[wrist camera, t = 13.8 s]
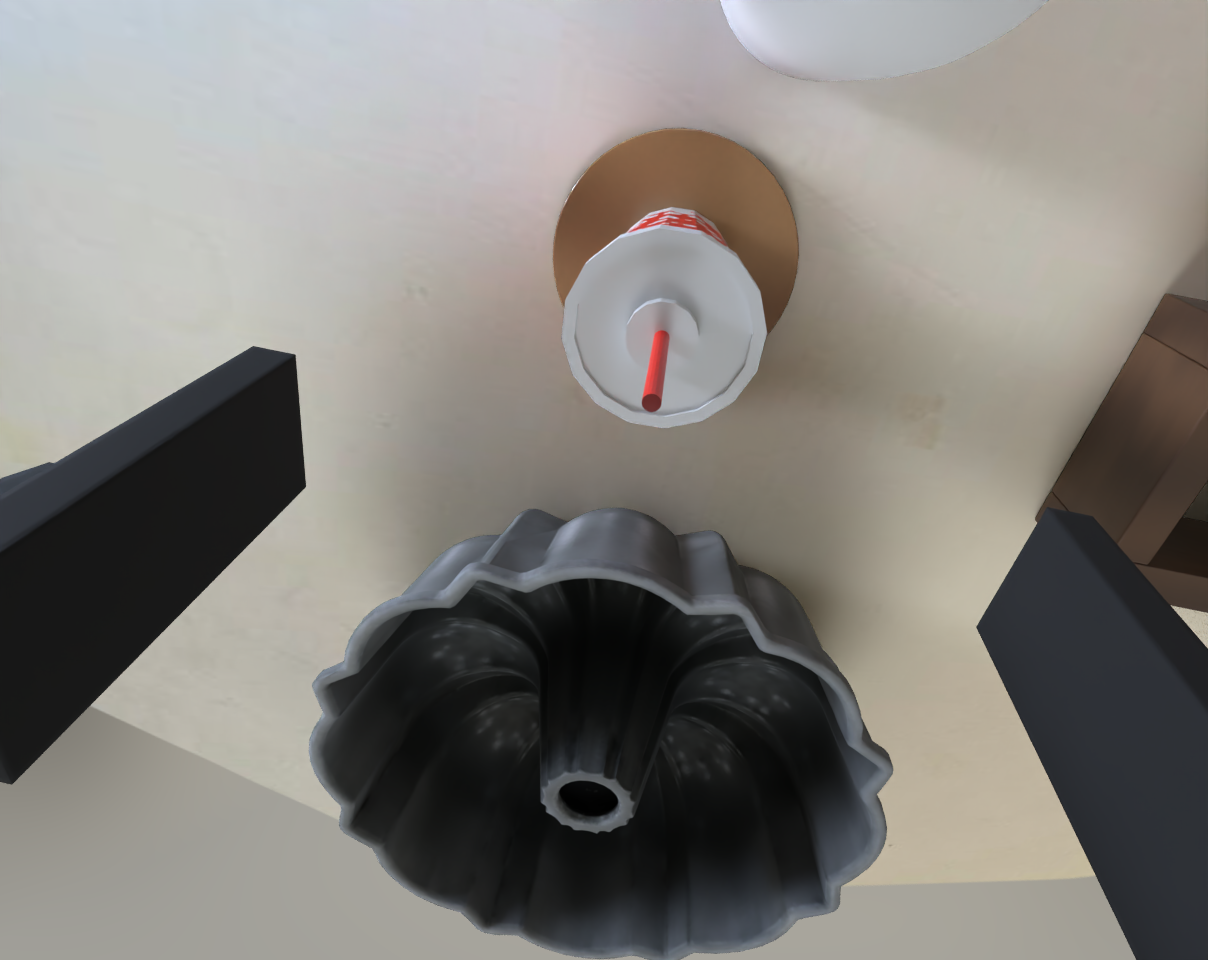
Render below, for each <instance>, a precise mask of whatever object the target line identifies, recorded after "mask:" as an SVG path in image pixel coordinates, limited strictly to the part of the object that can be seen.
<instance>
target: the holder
mask: <svg viewBox="0 0 1208 960" xmlns="http://www.w3.org/2000/svg"><path fill="white" fill-rule="evenodd" d="M1144 332H1145V333H1144V334H1142V336H1141V337H1140V339H1139V341H1138V343H1137V344H1136V346H1135V348H1134V350H1133V351H1132V353H1131V355H1130V356H1129V358H1128V360H1127V362H1126V363H1125V365H1124V367H1123V369H1122V370H1121V372H1120V374H1119V375H1118V377H1117V379H1116V381H1115V382H1114V384H1113V386H1112V388H1111V389H1110V391H1109V393H1108V394H1107V396H1106V398H1105V400H1104V401H1103V403H1102V405H1101V407H1100V408H1099V410H1098V412H1097V413H1096V415H1095V417H1094V419H1093V420H1092V422H1091V424H1090V426H1089V427H1088V429H1087V431H1086V432H1085V434H1084V436H1083V438H1082V439H1081V441H1080V443H1079V445H1078V446H1077V448H1076V450H1075V451H1074V453H1073V455H1072V457H1071V458H1070V460H1069V462H1068V464H1067V465H1066V467H1065V469H1064V470H1063V472H1062V474H1061V476H1060V477H1059V479H1058V481H1057V483H1056V484H1055V486H1054V488H1053V490H1052V491H1053V492H1050V494H1049V496H1048V497H1047V499H1046V501H1045V503H1044V504H1043V506H1042V508H1041V510H1040V511H1039V513H1038V515H1037V516H1036V518H1035V520H1036V521H1037V523H1038V522H1039V520H1040V518H1041V516H1042V515H1043V513H1044V511H1045V510H1046V508H1047V507H1050V508H1055V509H1060V510H1065V511H1070V512H1075V513H1080V514H1084V515H1089V516H1093V517H1094V518H1095V519H1096V520H1097V522H1098V523H1099V524H1100V525H1101V526H1102V527H1103V529H1104V530H1105V531H1106V532H1107V533H1108V534H1109V535H1110V537H1111V538H1112V539H1113V540H1114V541H1115V542H1116V544H1117V545H1118V546H1119V547H1120V548H1121V549H1122V550H1123V552H1124V553H1125V554H1126V555H1127V556H1128V557H1129V558H1130V560H1131V561H1132V562H1133V563H1134V564H1135V565H1136V567H1137V568H1138V569H1139V570H1140V571H1141V572H1142V573H1143V575H1144V576H1145V577H1146V578H1147V579H1148V580H1149V582H1150V583H1151V584H1152V585H1153V586H1154V587H1155V588H1156V590H1157V591H1158V592H1159V593H1160V594H1161V595H1162V597H1163V598H1164V599H1165V600H1166V601H1167V602H1168V603H1169V605H1172V606H1177V607H1182V608H1187V609H1192V610H1197V611H1202V612H1207V613H1208V522H1203V521H1198V520H1193V519H1188V518H1183V517H1182V516H1183V515H1184V513H1185V512H1186V511H1187V509H1188V508H1189V506H1190V505H1191V503H1192V502H1193V501H1194V499H1195V498H1196V496H1197V495H1198V494H1199V492H1200V491H1201V489H1202V488H1203V487H1204V485H1205V484H1206V482H1207V481H1208V301H1204V300H1199V299H1193V298H1188V297H1183V296H1177V295H1172V294H1165V295H1164V297H1163V299H1162V301H1161V302H1160V304H1159V306H1158V308H1157V309H1156V311H1155V313H1154V315H1153V316H1152V318H1151V320H1150V321H1149V323H1148V325H1147V327H1146V328H1145V330H1144Z"/></svg>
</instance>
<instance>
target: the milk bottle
mask: <svg viewBox="0 0 1208 960" xmlns="http://www.w3.org/2000/svg"><path fill="white" fill-rule="evenodd" d="M1047 1H1048V0H720V2H721V5H722V8H723V11H724V14H725V16H726V18H727V21H728V23H729V25H730V27H731V28H732V30H733V32H734V34H735V35H736V37H737V38H738V40H739V41H740V42H741V43H742V45H743V46H744V47H745V48H746V50H748V51H749V52H750V53H751V54H752V55H753V56H754V57H755V58H756V59H757V60H759V61H760V62H761V63H763V64H764V65H766V66H767V67H769V68H771V69H772V70H775V71H777V72H779V73H781V74H784V75H787V76H790V77H793V78H798V79H803V80H811V81H857V80H874V79H885V78H892V77H898V76H903V75H908V74H912V73H917V72H921V71H925V70H929V69H934V68H936V67H939V66H942V65H945V64H948V63H951V62H953V61H956V60H958V59H960V58H962V57H964V56H967V55H969V54H971V53H973V52H975V51H976V50H978V49H980V48H982V47H984V46H985V45H987V44H989V43H991V42H993V41H994V40H996V39H998V38H1000V37H1002V36H1003V35H1005V34H1006V33H1008V32H1009V31H1011V30H1012V29H1013V28H1015V27H1016V26H1018V25H1019V24H1021V23H1022V22H1023V21H1025V20H1026V19H1027V18H1028V17H1030V16H1031V15H1032V14H1033V13H1035V12H1036V11H1037V10H1038V9H1040V8H1041V7H1042V6H1043V5H1044V4H1045V3H1046V2H1047Z"/></svg>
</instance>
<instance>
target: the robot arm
mask: <svg viewBox="0 0 1208 960" xmlns="http://www.w3.org/2000/svg"><path fill="white" fill-rule="evenodd" d="M305 487H306V481H305V469H304V456H303V443H302V431H301V418H300V406H299V393H298V381H297V368H296V355H294V354H289V353H284V352H279V351H275V350H270V349H265V348H260V347H255V346H253V347H251V348H249V349H248V350H246V351H244V352H243V353H241V354H239V355H238V356H236V357H234V358H232V359H231V360H229V361H227V362H226V363H224V364H222V365H221V366H219V367H217V368H215V369H214V370H212V371H210V372H209V373H207V374H205V375H204V376H202V377H200V378H198V379H197V380H195V381H193V382H192V383H190V384H188V385H187V386H185V387H183V388H182V389H180V390H178V391H176V392H175V393H173V394H171V395H170V396H168V397H166V398H165V399H163V400H161V401H159V402H158V403H156V404H154V405H153V406H151V407H149V408H148V409H146V410H144V411H142V412H141V413H139V414H137V415H136V416H134V417H132V418H131V419H129V420H127V421H126V422H124V423H122V424H120V425H119V426H117V427H115V428H114V429H112V430H110V431H109V432H107V433H105V434H103V435H102V436H100V437H98V438H97V439H95V440H93V441H92V442H90V443H88V444H86V445H85V446H83V447H81V448H80V449H78V450H76V451H75V452H73V453H71V454H70V455H68V456H66V457H64V458H63V459H61V460H59V461H58V462H56V463H50V462H49V463H46V464H43V465H40V466H37V467H34V468H31V469H28V470H25V471H22V472H19V473H16V474H13V475H10V476H7V477H4V478H1V479H0V782H3V783H7V784H13V783H14V782H15V781H16V780H17V779H18V778H19V777H20V776H21V775H22V774H23V773H24V772H25V771H26V770H27V769H28V768H29V767H30V766H31V765H32V764H33V763H34V762H35V761H36V760H37V759H38V758H39V757H40V756H41V755H42V754H43V752H45V751H46V750H47V749H48V748H49V747H50V746H51V745H52V744H53V742H55V741H56V740H57V739H58V737H59V736H60V735H61V734H62V733H63V732H64V731H65V730H66V729H67V728H68V727H69V726H70V725H71V724H72V723H73V722H74V721H75V720H76V719H77V718H78V717H79V716H80V715H81V714H82V713H83V712H84V711H85V710H86V709H87V708H88V707H89V706H90V705H91V704H92V703H93V702H94V701H95V700H96V699H97V698H98V697H99V696H100V695H101V694H102V693H103V692H104V691H105V690H106V689H107V688H108V687H109V686H110V685H111V684H112V683H113V682H114V681H115V680H116V679H117V678H118V677H119V676H120V675H121V674H122V673H123V672H124V671H125V670H126V669H127V668H128V667H129V666H130V665H131V664H132V663H133V662H134V661H135V660H136V659H137V658H138V657H139V655H140V654H141V653H142V652H143V651H144V650H145V649H146V648H147V647H148V646H149V645H150V644H151V643H152V642H153V641H154V640H155V639H156V638H157V637H158V636H159V635H160V634H161V633H162V632H163V631H164V630H165V629H166V628H167V627H168V626H169V625H170V624H171V623H172V622H173V621H174V620H175V619H176V618H177V617H178V616H179V615H180V614H181V613H182V612H183V611H184V610H185V609H186V608H187V607H188V606H189V605H190V604H191V603H192V602H193V601H194V600H195V599H196V598H197V597H198V596H199V595H200V594H201V593H202V592H203V591H204V590H205V589H206V588H207V587H208V586H209V585H210V584H211V583H212V582H213V581H214V580H215V579H216V577H217V576H218V575H219V574H220V573H221V572H222V571H223V570H224V569H225V568H226V567H227V566H228V565H229V564H230V563H231V562H232V561H233V560H234V559H235V558H236V557H237V556H238V555H239V554H240V553H241V552H242V551H243V550H244V549H245V548H246V547H247V546H248V545H249V544H250V543H251V542H252V541H253V540H254V539H255V538H256V537H257V536H258V535H259V534H260V533H261V532H262V531H263V530H264V529H265V528H266V527H267V526H268V525H269V524H270V523H271V522H272V521H273V520H274V519H275V518H276V517H277V516H278V515H279V514H280V513H281V512H282V511H283V510H284V509H285V508H286V507H287V506H288V505H289V504H290V503H291V502H292V501H293V499H294V498H295V497H296V496H297V495H298V494H299V493H300V492H301V491H302V490H303V489H304V488H305ZM976 628H977V630H978V632H979V634H980V636H981V638H982V640H983V642H984V644H985V646H986V648H987V650H988V652H989V655H990V657H991V659H992V661H993V663H994V665H995V667H996V669H997V671H998V673H999V675H1000V677H1001V679H1002V682H1003V684H1004V686H1005V688H1006V690H1007V692H1008V694H1009V696H1010V698H1011V700H1012V702H1013V704H1014V706H1015V709H1016V711H1017V713H1018V715H1019V717H1020V719H1021V721H1022V723H1023V725H1024V727H1025V729H1026V731H1027V734H1028V736H1029V738H1030V740H1031V742H1032V744H1033V746H1034V748H1035V750H1036V752H1037V754H1038V756H1039V758H1040V761H1041V763H1042V765H1043V767H1044V769H1045V771H1046V773H1047V775H1048V777H1049V779H1050V781H1051V783H1052V785H1053V788H1054V790H1055V792H1056V794H1057V796H1058V798H1059V800H1060V802H1061V804H1062V806H1063V808H1064V810H1065V812H1066V815H1067V817H1068V819H1069V821H1070V823H1071V825H1072V827H1073V829H1074V831H1075V833H1076V835H1077V837H1078V839H1079V842H1080V844H1081V846H1082V848H1083V850H1084V852H1085V854H1086V856H1087V858H1088V860H1089V862H1090V864H1091V866H1092V869H1093V871H1094V873H1095V875H1096V877H1097V879H1098V881H1099V883H1100V885H1101V887H1102V889H1103V891H1104V893H1105V896H1106V898H1107V900H1108V902H1109V904H1110V906H1111V908H1112V910H1113V912H1114V914H1115V916H1116V918H1117V920H1118V922H1119V925H1120V926H1121V929H1122V931H1123V933H1124V935H1125V937H1126V939H1127V941H1128V943H1129V945H1130V948H1131V949H1132V952H1133V954H1134V956H1135V958H1136V960H1208V648H1207V647H1206V646H1205V645H1204V644H1203V643H1202V641H1201V640H1200V639H1199V638H1198V637H1197V636H1196V635H1195V633H1194V632H1193V631H1192V630H1191V629H1190V628H1189V627H1188V625H1187V624H1186V623H1185V622H1184V621H1183V620H1182V618H1181V617H1180V616H1179V615H1178V614H1177V613H1176V612H1175V610H1174V609H1173V608H1172V607H1171V606H1170V605H1169V603H1168V602H1167V601H1166V600H1165V599H1164V598H1163V597H1162V595H1161V594H1160V593H1159V592H1158V591H1157V590H1156V588H1155V587H1154V586H1153V585H1152V584H1151V583H1150V582H1149V580H1148V579H1147V578H1146V577H1145V576H1144V575H1143V573H1142V572H1141V571H1140V570H1139V569H1138V568H1137V567H1136V565H1135V564H1134V563H1133V562H1132V561H1131V560H1130V558H1129V557H1128V556H1127V555H1126V554H1125V553H1124V552H1123V550H1122V549H1121V548H1120V547H1119V546H1118V545H1117V544H1116V542H1115V541H1114V540H1113V539H1112V538H1111V537H1110V535H1109V534H1108V533H1107V532H1106V531H1105V530H1104V529H1103V527H1102V526H1101V525H1100V524H1099V523H1098V522H1097V520H1096V519H1095V518H1094V517H1093V516H1089V515H1084V514H1080V513H1075V512H1070V511H1065V510H1060V509H1055V508H1050V507H1047V508H1046V510H1045V511H1044V513H1043V515H1042V516H1041V518H1040V520H1039V522H1038V523H1037V525H1036V527H1035V528H1034V530H1033V532H1032V533H1031V535H1030V537H1029V539H1028V540H1027V542H1026V544H1025V545H1024V547H1023V549H1022V550H1021V552H1020V554H1019V555H1018V557H1017V559H1016V561H1015V562H1014V564H1013V566H1012V567H1011V569H1010V571H1009V572H1008V574H1007V576H1006V578H1005V579H1004V581H1003V583H1002V584H1001V586H1000V588H999V589H998V591H997V593H996V594H995V596H994V598H993V600H992V601H991V603H990V605H989V606H988V608H987V610H986V611H985V613H984V615H983V617H982V618H981V620H980V622H979V623H978V625H977V627H976Z"/></svg>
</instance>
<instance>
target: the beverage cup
mask: <svg viewBox="0 0 1208 960" xmlns="http://www.w3.org/2000/svg"><path fill="white" fill-rule="evenodd" d="M766 335H767V329H766V323H765V317H764V311H763V304H762V298H761V292H760V290H759V288H758V286H757V284H756V283H755V281H754V280H753V278H752V277H751V275H750V274H749V272H748V271H747V269H746V268H745V266H744V264H743V263H742V261H741V260H740V258H739V257H738V255H737V254H736V253H735V252H734V251H732V250H731V249H729V247H728V245H727V243H726V241H725V240H724V238H723V237H722V235H721V234H720V232H719V230H718V229H717V227H716V226H715V224H714V223H713V222H711V221H710V220H708V219H707V218H705V217H704V216H702V215H701V214H699V213H697V212H696V211H694V210H688V209H681V208H675V207H670V208H666V209H662V210H659V211H655V212H651V213H649V214H648V215H646V216H645V217H644V218H642V219H641V220H640V221H639V222H637V223H636V224H635V225H633V226H632V227H631V228H630V229H629V230H628V231H627V232H626V233H625V234H621V235H620V236H618V237H617V238H616V239H615V240H613V241H612V242H611V243H609V244H608V245H607V246H606V247H604V248H603V249H602V250H600V251H599V252H598V253H597V254H595V255H594V256H593V257H591V258H590V259H589V260H588V261H587V262H586V263H585V265H584V267H583V268H582V270H581V272H580V274H579V276H578V278H577V279H576V281H575V283H574V285H573V287H572V288H571V290H570V292H569V294H568V296H567V298H566V299H565V307H564V317H563V327H562V337H561V339H562V342H563V345H564V349H565V352H566V355H567V359H568V362H569V365H570V368H571V372H572V375H573V376H574V377H575V378H576V380H577V381H578V382H579V383H580V385H581V386H582V387H583V388H584V390H585V391H586V392H587V393H588V395H589V396H590V397H591V398H592V400H593V401H594V402H595V403H596V404H597V405H599V406H601V407H602V408H604V409H606V410H608V411H609V412H611V413H613V414H614V415H616V416H618V417H620V418H621V419H623V420H625V421H627V422H629V423H635V424H641V425H647V426H653V427H659V428H664V429H665V428H670V427H675V426H681V425H686V424H691V423H696V422H702V421H703V420H705V419H707V418H708V417H710V416H711V415H713V414H715V413H716V412H718V411H720V410H721V409H723V408H725V407H726V406H728V405H729V404H731V403H733V402H734V401H735V400H736V398H737V397H738V396H739V394H740V393H741V392H742V390H743V389H744V388H745V386H746V385H747V384H748V383H749V381H750V380H751V379H752V377H753V376H754V375H755V373H756V372H757V370H758V366H759V362H760V358H761V354H762V351H763V347H764V343H765V339H766Z"/></svg>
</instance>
